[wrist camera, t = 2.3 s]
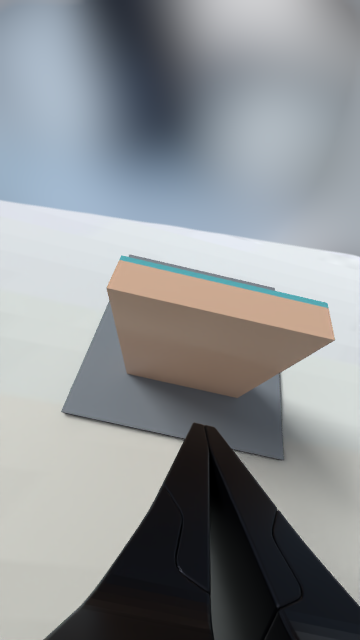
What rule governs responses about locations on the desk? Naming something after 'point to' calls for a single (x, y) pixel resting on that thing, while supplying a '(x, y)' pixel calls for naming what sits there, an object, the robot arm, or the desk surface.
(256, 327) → the tile
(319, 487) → the desk surface
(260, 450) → the mat
